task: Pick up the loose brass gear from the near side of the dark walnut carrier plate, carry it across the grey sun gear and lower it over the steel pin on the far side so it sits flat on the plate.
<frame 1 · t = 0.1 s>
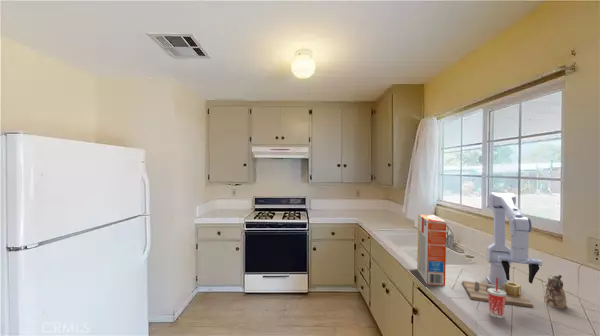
hand: (519, 281, 126), 10 cm above the worktop, tool pointing down, fingers open, 7 cm apart
carrier plate: (494, 294, 138), on the worktop
beverage cup: (496, 315, 117), on the worktop
figurine: (554, 304, 128), on the worktop
brass gear: (512, 293, 136), point 1 cm above the worktop, touching carrier plate
orange cereal box: (430, 277, 159), on the worktop
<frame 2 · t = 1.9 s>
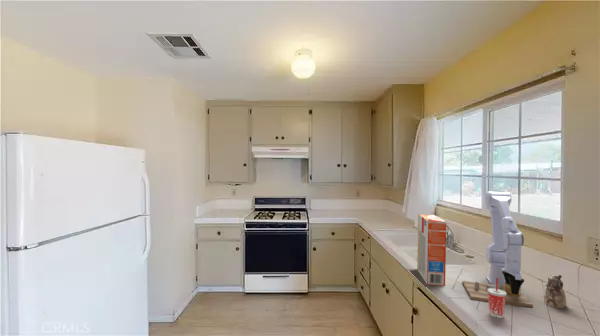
hand: (512, 291, 136), 2 cm above the worktop, tool pointing down, fingers closed on brass gear, 6 cm apart
brass gear: (512, 293, 136), point 1 cm above the worktop, touching carrier plate, gripper
everything else where it was.
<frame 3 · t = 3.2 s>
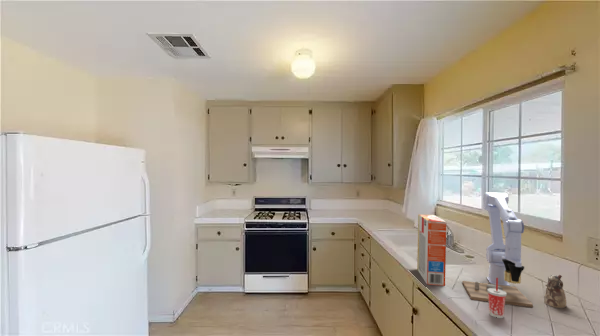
hand: (512, 278, 136), 8 cm above the worktop, tool pointing down, fingers closed on brass gear, 6 cm apart
brass gear: (512, 281, 136), point 7 cm above the worktop, touching gripper
everything else where it was.
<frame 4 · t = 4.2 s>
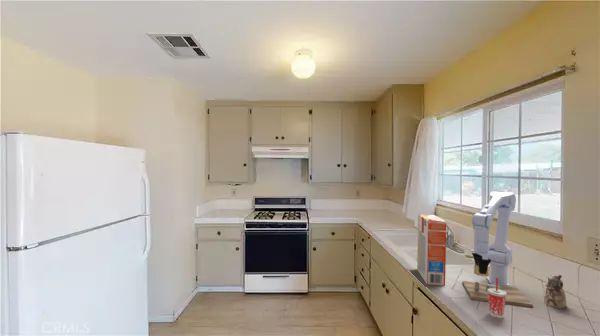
hand: (480, 271, 139), 9 cm above the worktop, tool pointing down, fingers closed on brass gear, 6 cm apart
brass gear: (481, 274, 139), point 8 cm above the worktop, touching gripper
everything else where it was.
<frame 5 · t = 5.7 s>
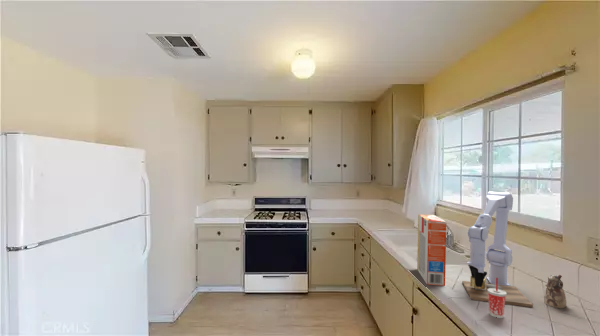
hand: (477, 284, 140), 4 cm above the worktop, tool pointing down, fingers closed on brass gear, 6 cm apart
brass gear: (477, 286, 140), point 2 cm above the worktop, touching gripper
everything else where it was.
when the fingers open (3 cm above the worktop, at t = 6.8 s): brass gear drops 1 cm, resting on carrier plate.
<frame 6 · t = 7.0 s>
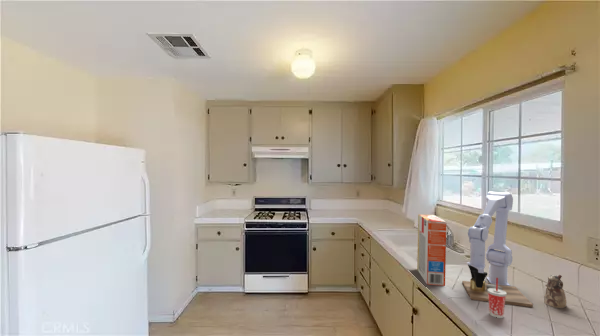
hand: (477, 284, 140), 3 cm above the worktop, tool pointing down, fingers open, 7 cm apart
brass gear: (477, 289, 140), point 1 cm above the worktop, touching carrier plate
everything else where it was.
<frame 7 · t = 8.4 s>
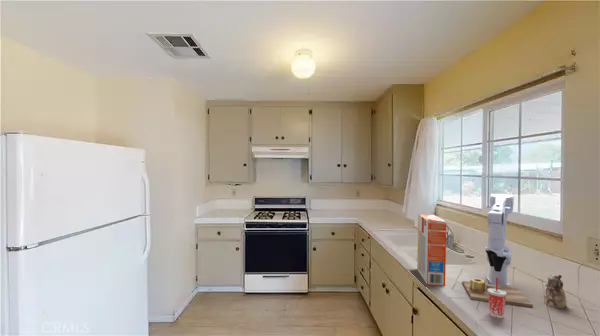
hand: (495, 268, 140), 10 cm above the worktop, tool pointing down, fingers open, 7 cm apart
nothing on the worktop moved.
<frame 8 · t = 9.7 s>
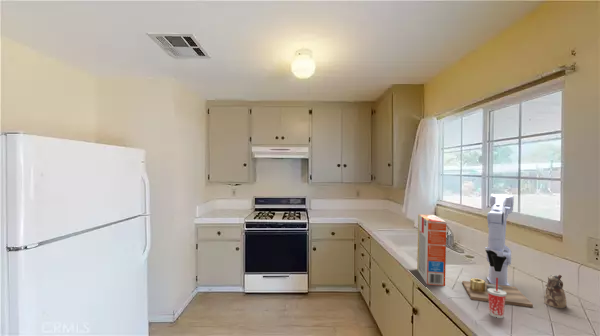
hand: (495, 268, 140), 10 cm above the worktop, tool pointing down, fingers open, 7 cm apart
nothing on the worktop moved.
at the end: brass gear 0.3 cm from the target spot on the carrier plate, point 1.2 cm above the carrier plate's base; brass gear tilted 0°; the gripper is holding nothing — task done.
